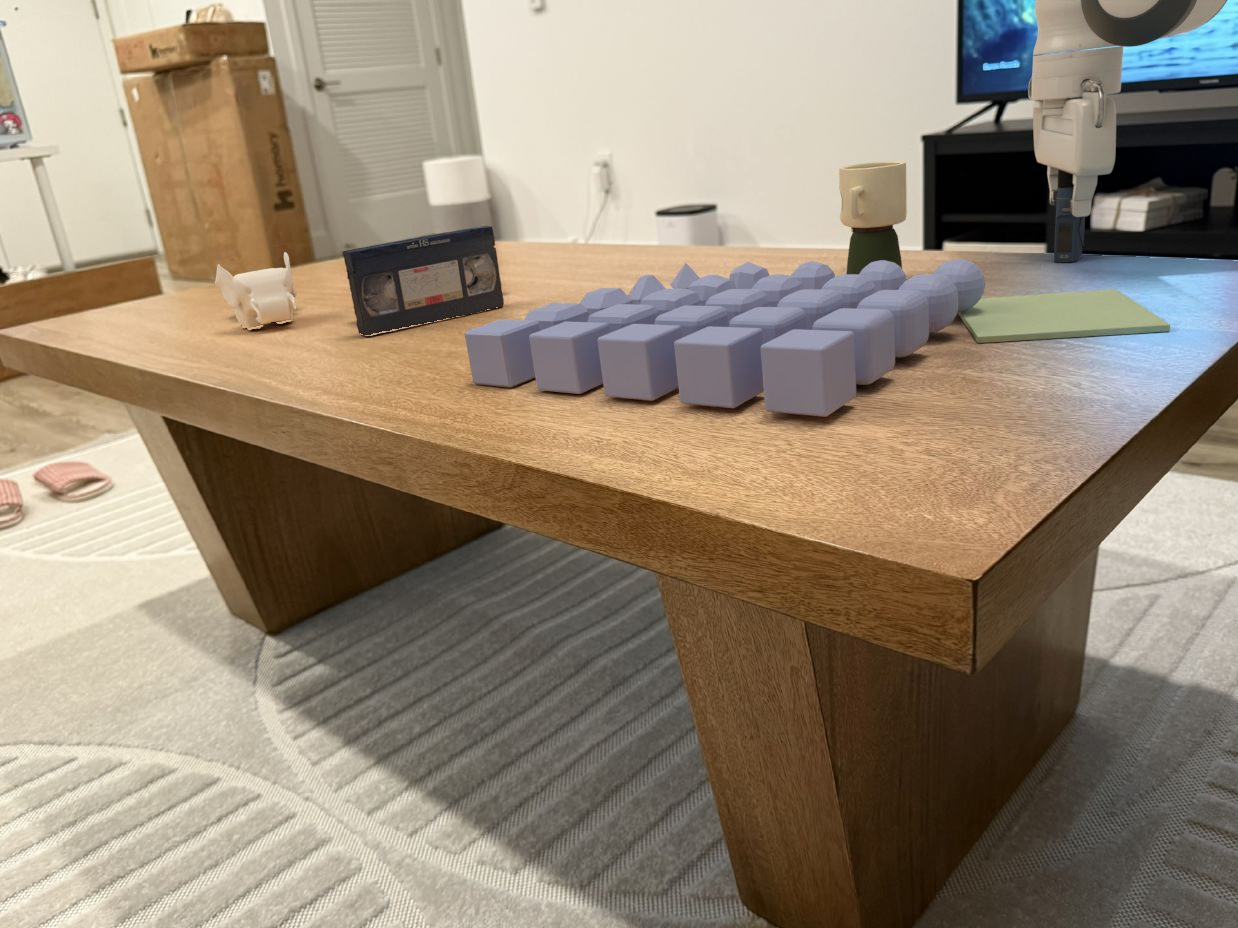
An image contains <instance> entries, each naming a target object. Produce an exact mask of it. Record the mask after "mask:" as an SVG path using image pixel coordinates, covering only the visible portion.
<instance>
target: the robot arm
mask: <svg viewBox="0 0 1238 928" xmlns="http://www.w3.org/2000/svg"><path fill="white" fill-rule="evenodd" d="M1226 3H1228V0H1034V16H1035V19H1036V24H1037V36H1036V42H1035V43H1034V44H1035V45H1034V47H1033V52H1032V73H1031V78H1030V80H1029V82H1028V91H1027V93H1028V94H1027V95H1028V98H1029V99H1030V100H1031V101H1032V102H1033V104H1032V126H1033V149H1034V156H1035V159H1036V162H1037V163H1039V164H1041V165H1044V166H1047V171H1046V175H1047V176H1046V177H1047V182H1048V188H1049V204H1050V205H1051V206H1052V207H1056V201H1057V193H1058V192H1057V188H1058V186H1059V184H1058V169H1059V170H1062V171H1065V172H1067V173H1070V174H1073V184H1074V190H1073V198H1072V199H1071V202H1070V207H1071V208H1070V213H1071V214H1072V215H1073V216H1075V217H1084V216H1085V217H1089V216H1090V215H1091V213H1092V202H1093V197H1094V195H1095V191H1096V189H1097V185H1098V178H1099V177H1098V176H1104V175H1109V174H1111V173H1112V172H1113V170H1114V166H1115V162H1116V151H1117V150H1116V147H1117V142H1116V141H1117V109H1116V103H1115V100H1114V99H1113V98H1112V97H1110V96H1108V95H1115V94H1118V93H1120V92H1121V89H1122V73H1123V61H1124V60H1123V59H1124V48H1126V47H1127V48H1128V47H1130V48H1131V47H1139V46H1144V45H1147V44H1149V43H1152V42H1154V41H1158V40H1160V39H1161V40H1162V39H1167V38H1168V39H1169V38H1171V37H1175V36H1181V35H1184V34H1187V33H1190V32H1192V31H1194V30H1196V29H1198V28H1200V27H1201V26H1202V27H1203V26H1204V25H1205V24H1207V23H1208V22H1209V21H1211V20H1212V19H1213V18H1215V17H1216V16H1217V15H1218V14H1219V13H1220V12H1221V10H1222V9H1223V8H1224V6H1225V5H1226Z"/></svg>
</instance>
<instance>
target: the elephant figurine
mask: <svg viewBox="0 0 1238 928" xmlns="http://www.w3.org/2000/svg"><path fill="white" fill-rule="evenodd" d="M283 260H284V265H285V267H270V268H264V269H258V270H253V271H248V272H241V273H238V274H235V275H234V276H233V274H231V273H230V272H229V271H228V270H227V269H226V268H224V267H223V266H221V264H220V263H217V265H216V273H215V280H214V285H215V287H217V288H219V290H220V291H221V294H222V298H223V300H224V301H225V302H226V303H227V304H228V305H229V306H232V307H233V312H234V315H235V318H236V320H237V322H238V324H239V326H240V325H244V326H245V327H246V328H251V327H256V326H260V325H266V324H272V323H271V322H282V321H286V320H293V321H294V310H297V307H296V305H297V304H296V301H295V298H296V297H297V296H298V293H297V289H296V286H295V283H294V281H293V274H292V268H291V264H290V257H289V254H288V253H287V252H286V251H284V252H283Z"/></svg>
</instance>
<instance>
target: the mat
mask: <svg viewBox="0 0 1238 928" xmlns="http://www.w3.org/2000/svg"><path fill="white" fill-rule="evenodd" d="M957 315H958V316H959V318H960V319H961V321H962V323H963V324H964V325H965V327H966V328H967V329H968V331H969V332H970V334H971V335H972V337H973V339H974V340H975V342H976V343H977V344H989V343H1004V342H1005V343H1006V342H1019V341H1021V342H1022V341H1036V340H1052V339H1053V340H1054V339H1067V338H1068V339H1069V338H1086V337H1101V336H1103V337H1104V336H1118V335H1134V334H1149V333H1166V332H1170V331H1171V324H1170V323H1169V322H1167V321H1166V320H1164V319H1162V318H1161V317H1159V316H1158V315H1156V314H1154V313H1153V312H1152V311H1150V310H1148V309H1147V308H1146V307H1145V306H1143V305H1142V304H1140V303H1138V302H1137V301H1135V300H1134V299H1132V298H1131V297H1129V296H1127V295H1126V294H1125V293H1123V292H1121V291H1120V290H1119V289H1118V288H1115V289H1114V288H1110V289H1098V290H1083V291H1082V290H1081V291H1069V292H1068V291H1067V292H1054V293H1039V294H1027V295H1025V294H1024V295H1010V296H996V297H983V298H982V297H981V298H980V300H979V302H978V303H977V304H976V305H975V306H974V307H972V308H970V309H968V310H966V311H962V312H957Z"/></svg>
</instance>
